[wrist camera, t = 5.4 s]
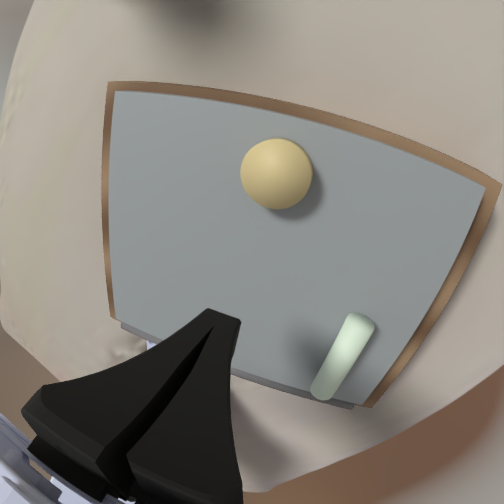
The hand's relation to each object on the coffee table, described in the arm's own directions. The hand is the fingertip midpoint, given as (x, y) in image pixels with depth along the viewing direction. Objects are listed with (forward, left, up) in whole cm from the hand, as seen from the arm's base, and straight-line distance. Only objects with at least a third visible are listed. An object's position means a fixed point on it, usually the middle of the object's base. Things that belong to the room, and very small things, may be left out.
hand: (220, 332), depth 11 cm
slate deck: (-1, 0, -6) cm, 6 cm away
